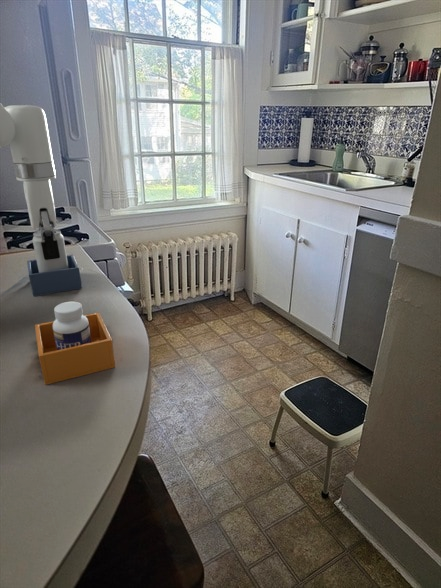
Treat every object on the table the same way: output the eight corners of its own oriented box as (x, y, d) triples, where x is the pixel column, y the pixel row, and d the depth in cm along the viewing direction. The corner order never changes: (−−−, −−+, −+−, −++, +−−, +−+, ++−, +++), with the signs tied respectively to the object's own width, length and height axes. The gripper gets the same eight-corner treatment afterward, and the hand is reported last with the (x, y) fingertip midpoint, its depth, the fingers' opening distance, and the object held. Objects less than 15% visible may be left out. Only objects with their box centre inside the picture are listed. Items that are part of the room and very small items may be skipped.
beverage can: (67, 286, 89) (59, 235, 84) (38, 288, 88) (27, 236, 83) (72, 276, 94) (65, 227, 90) (44, 277, 93) (35, 228, 89)
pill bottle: (52, 364, 61) (42, 314, 57) (66, 346, 66) (58, 299, 62) (86, 366, 61) (77, 315, 57) (97, 347, 65) (90, 300, 62)
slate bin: (33, 296, 85) (28, 275, 83) (31, 280, 93) (26, 260, 91) (82, 288, 89) (78, 267, 87) (75, 273, 98) (72, 254, 95)
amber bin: (45, 385, 57) (38, 356, 55) (40, 350, 66) (34, 324, 63) (115, 367, 61) (111, 339, 59) (102, 337, 70) (99, 312, 68)
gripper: (14, 167, 86) (30, 245, 94) (15, 178, 72) (34, 269, 80) (51, 166, 89) (64, 241, 97) (59, 175, 75) (73, 263, 83)
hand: (50, 253), depth 88 cm, fingers closed on beverage can, 6 cm apart
